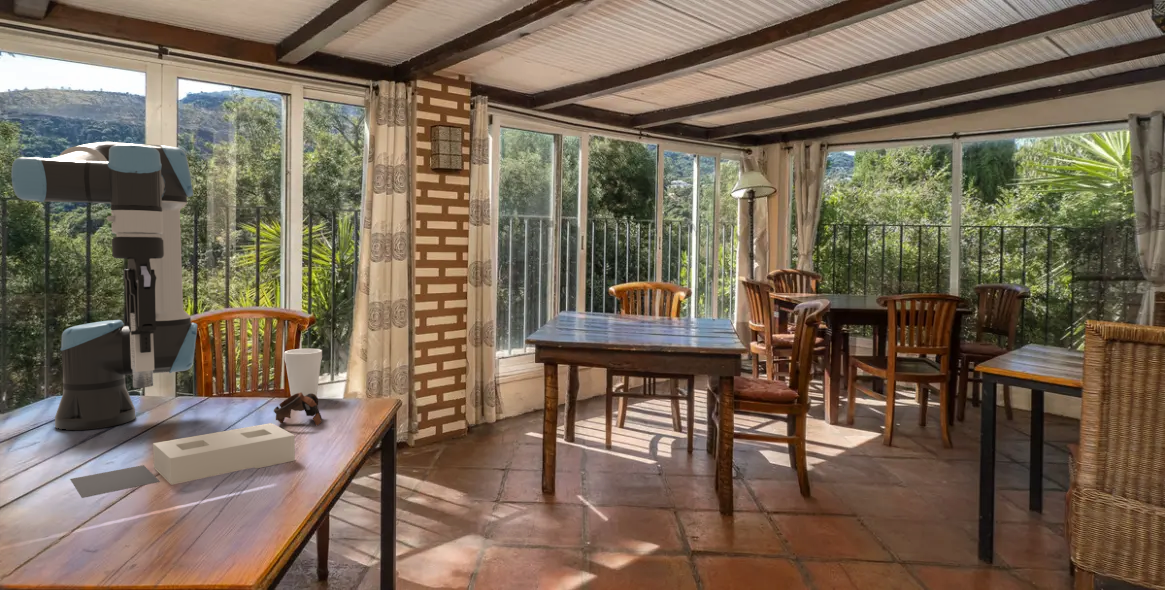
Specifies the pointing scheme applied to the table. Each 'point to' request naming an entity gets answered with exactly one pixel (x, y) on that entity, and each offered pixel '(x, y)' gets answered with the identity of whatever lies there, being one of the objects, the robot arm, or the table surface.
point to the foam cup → (303, 370)
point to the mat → (113, 481)
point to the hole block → (223, 452)
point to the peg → (139, 378)
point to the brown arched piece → (299, 407)
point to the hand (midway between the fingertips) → (142, 368)
